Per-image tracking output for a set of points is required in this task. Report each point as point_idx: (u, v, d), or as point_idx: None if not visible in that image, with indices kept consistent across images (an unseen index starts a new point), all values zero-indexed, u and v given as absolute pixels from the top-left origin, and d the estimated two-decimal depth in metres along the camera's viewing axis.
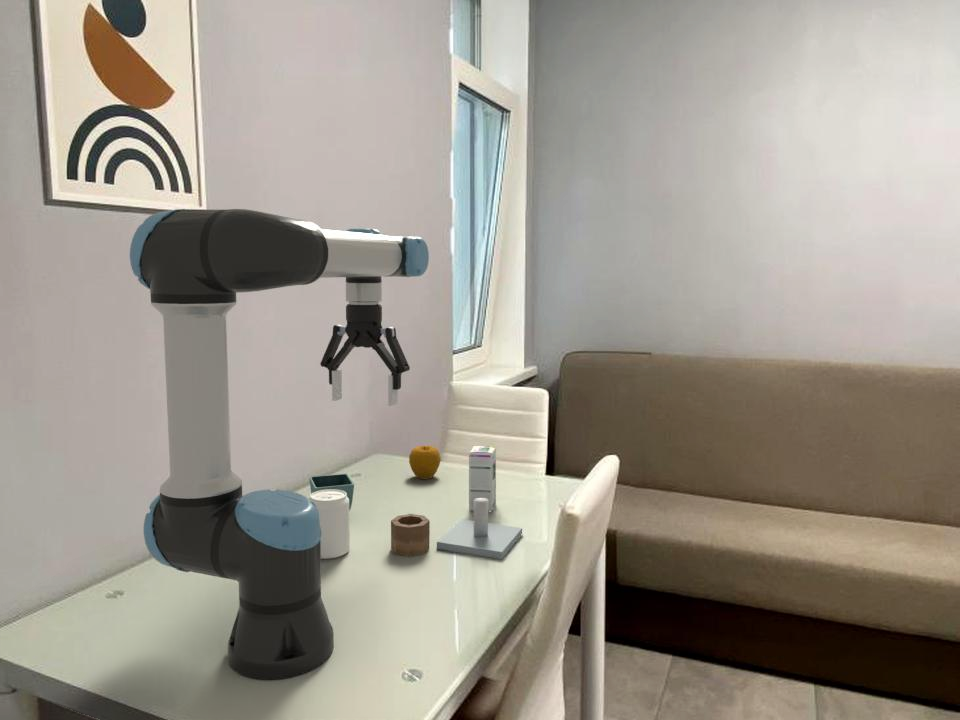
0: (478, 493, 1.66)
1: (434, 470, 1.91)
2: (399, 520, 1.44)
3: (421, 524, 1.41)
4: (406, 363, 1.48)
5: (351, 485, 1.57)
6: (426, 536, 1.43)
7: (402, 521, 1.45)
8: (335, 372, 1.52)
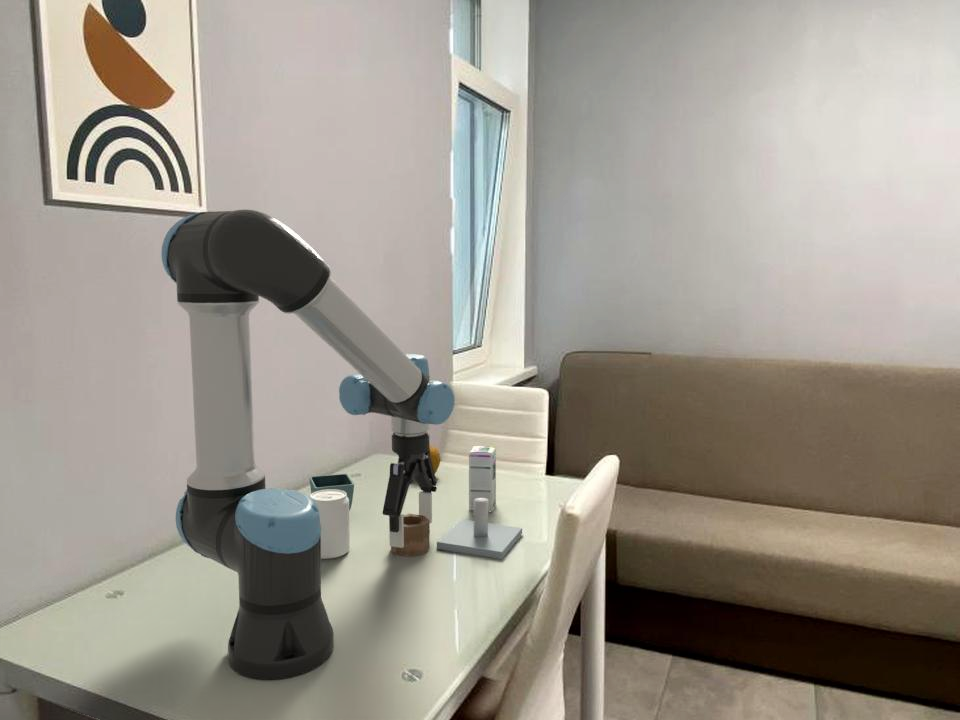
0: (478, 493, 1.66)
1: (434, 470, 1.91)
2: None
3: (421, 524, 1.41)
4: (392, 507, 1.34)
5: (351, 485, 1.57)
6: (426, 536, 1.43)
7: None
8: (420, 493, 1.50)
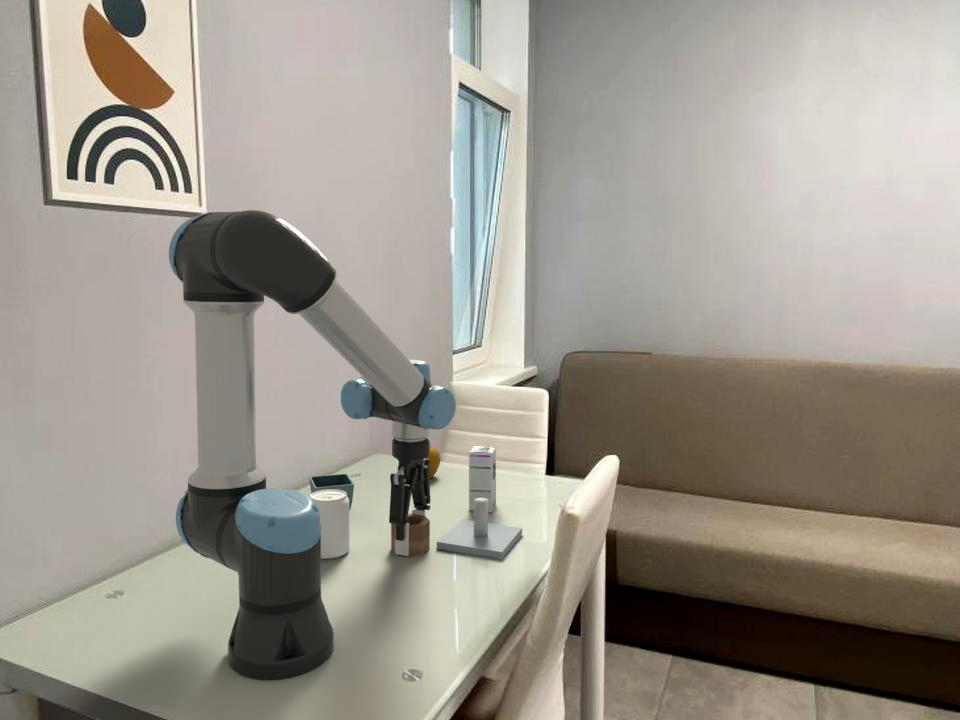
0: (478, 493, 1.66)
1: (434, 470, 1.91)
2: None
3: (421, 524, 1.41)
4: (397, 517, 1.36)
5: (351, 485, 1.57)
6: (426, 536, 1.43)
7: None
8: (413, 512, 1.47)
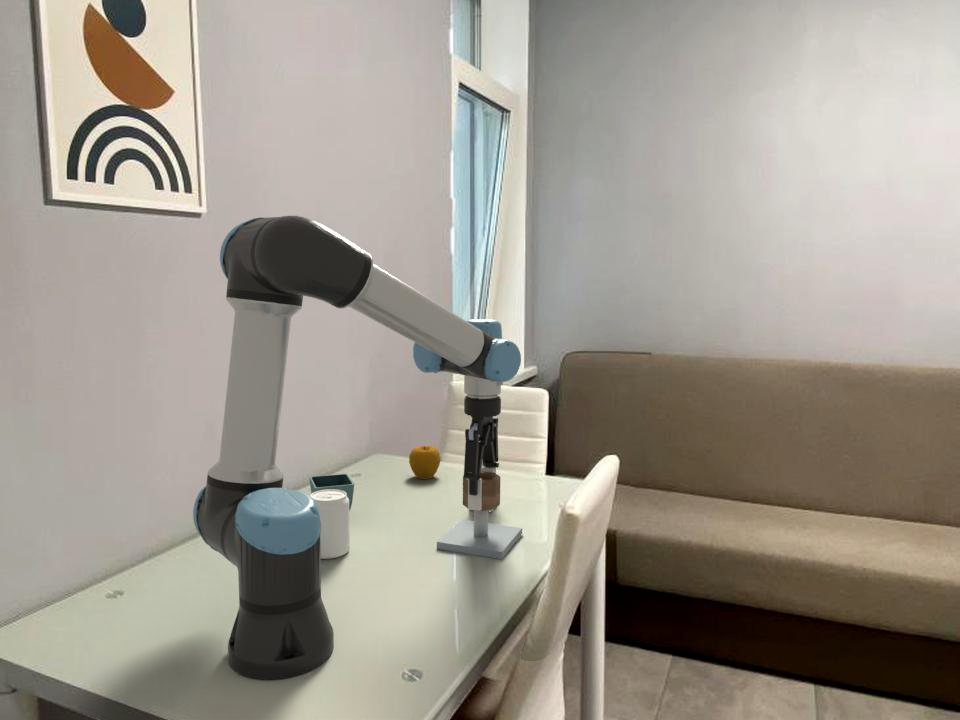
0: None
1: (434, 470, 1.91)
2: None
3: (493, 479, 1.45)
4: (472, 471, 1.39)
5: (351, 485, 1.57)
6: (497, 491, 1.46)
7: None
8: (482, 469, 1.50)
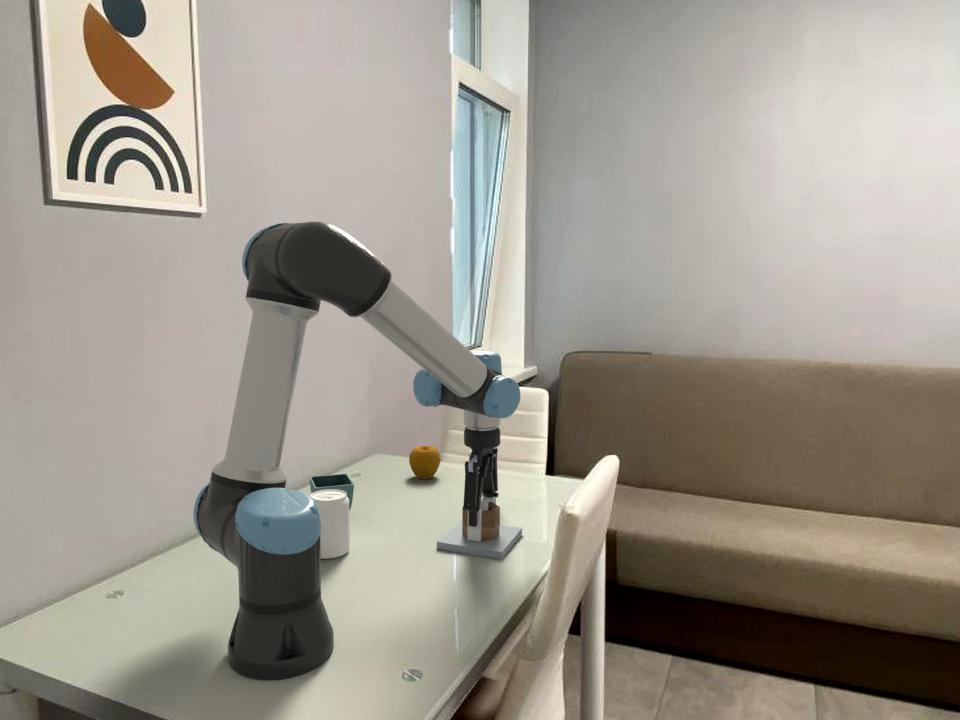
0: None
1: (434, 470, 1.91)
2: None
3: (493, 510, 1.45)
4: (472, 504, 1.40)
5: (351, 485, 1.57)
6: (497, 522, 1.47)
7: None
8: None
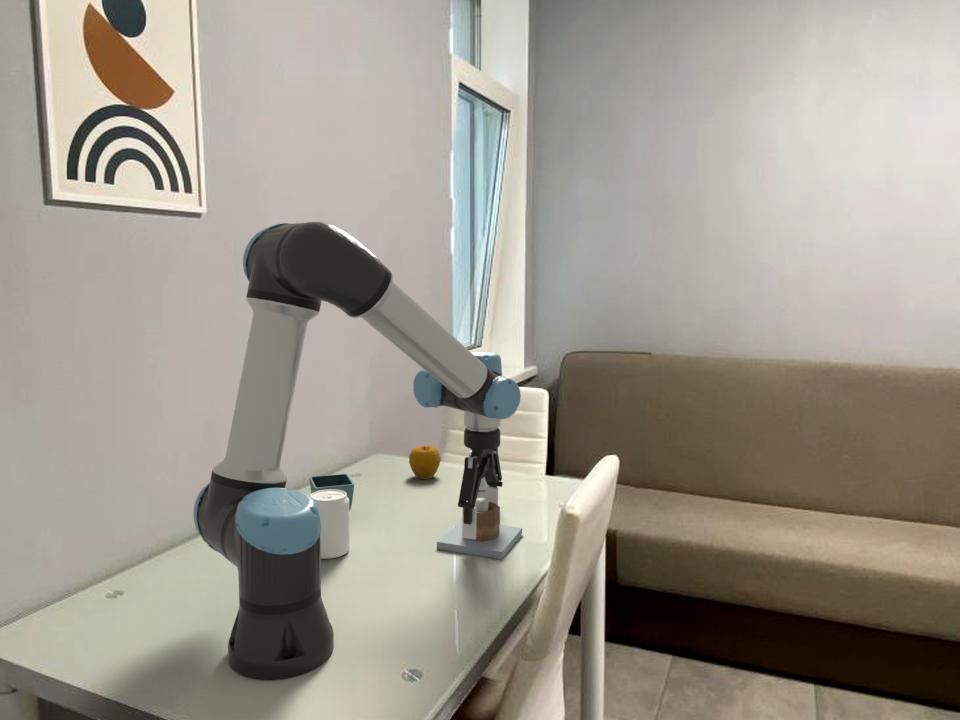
0: (478, 493, 1.66)
1: (434, 470, 1.91)
2: None
3: (493, 510, 1.45)
4: (467, 500, 1.38)
5: (351, 485, 1.57)
6: (497, 522, 1.47)
7: None
8: (486, 488, 1.54)
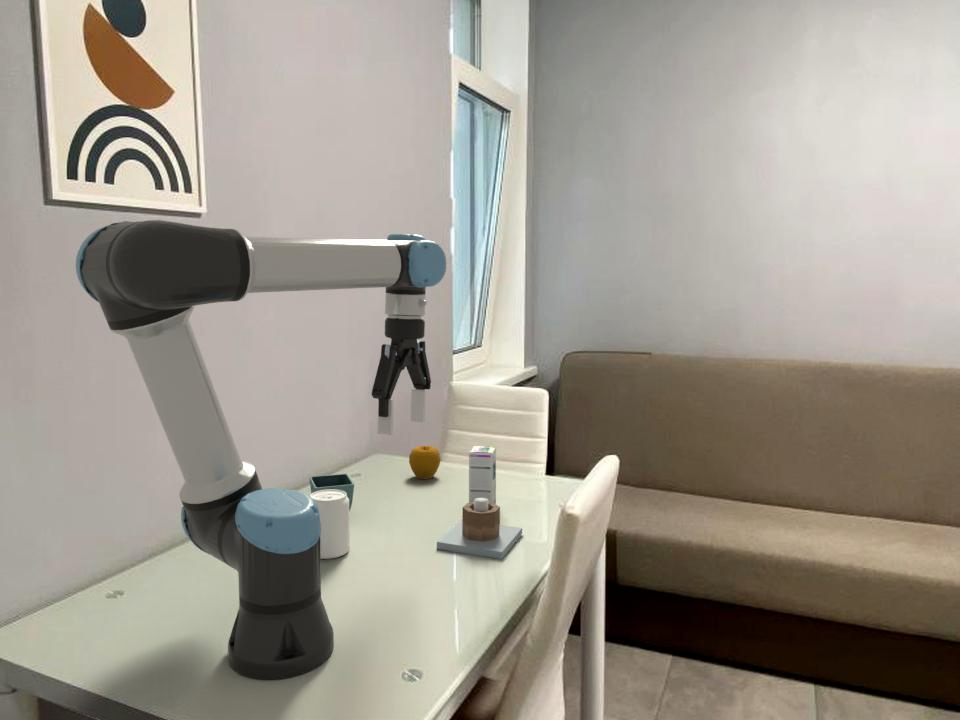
0: (478, 493, 1.66)
1: (434, 470, 1.91)
2: (470, 507, 1.48)
3: (493, 510, 1.45)
4: (382, 388, 1.26)
5: (351, 485, 1.57)
6: (497, 522, 1.47)
7: (472, 508, 1.50)
8: (412, 391, 1.42)
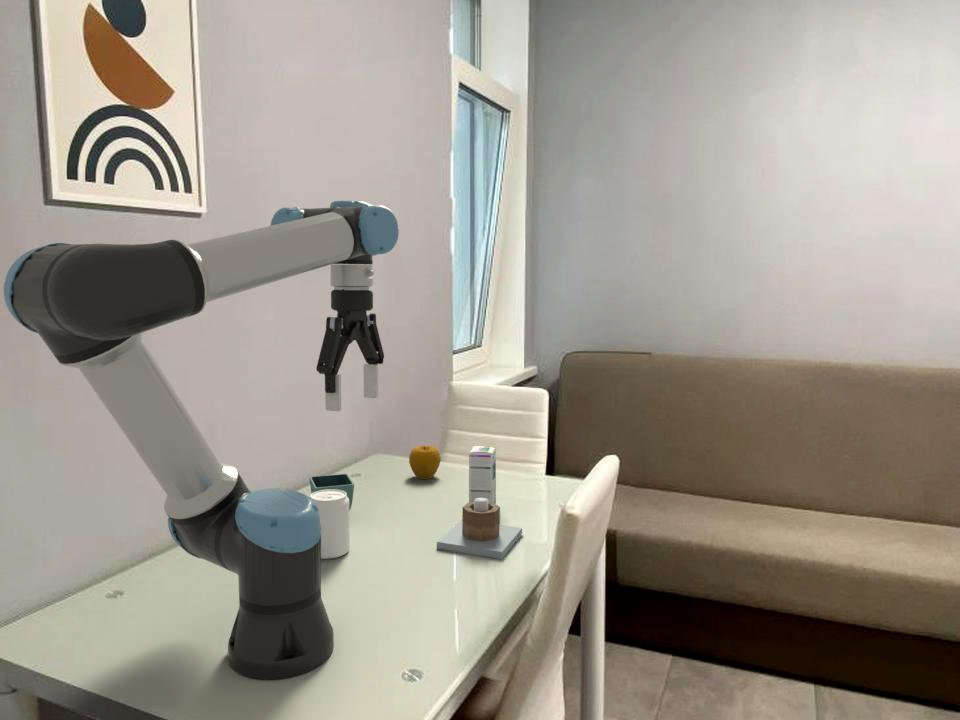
0: (478, 493, 1.66)
1: (434, 470, 1.91)
2: (470, 507, 1.48)
3: (493, 510, 1.45)
4: (327, 362, 1.21)
5: (351, 485, 1.57)
6: (497, 522, 1.47)
7: (472, 508, 1.50)
8: (365, 366, 1.36)
